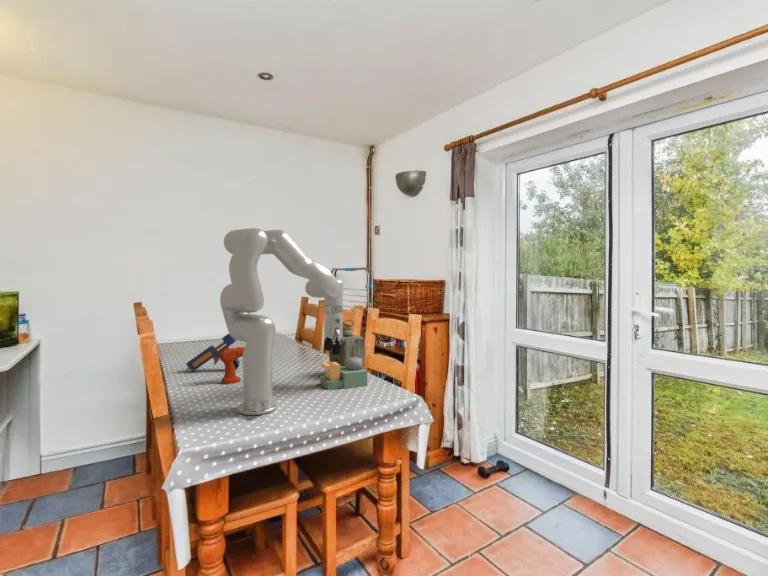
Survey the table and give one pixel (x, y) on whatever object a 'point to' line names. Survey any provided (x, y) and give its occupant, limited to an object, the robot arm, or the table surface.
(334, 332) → the robot arm
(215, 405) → the table surface
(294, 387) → the table surface
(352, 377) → the green drawer box
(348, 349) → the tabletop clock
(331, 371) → the orange rectangular block
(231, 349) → the toy drill
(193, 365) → the glue gun
